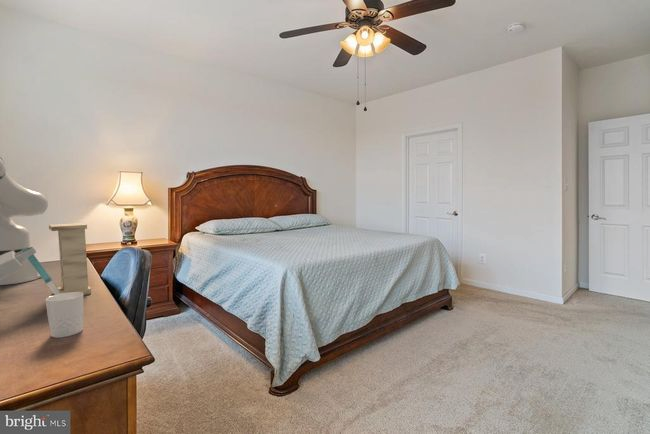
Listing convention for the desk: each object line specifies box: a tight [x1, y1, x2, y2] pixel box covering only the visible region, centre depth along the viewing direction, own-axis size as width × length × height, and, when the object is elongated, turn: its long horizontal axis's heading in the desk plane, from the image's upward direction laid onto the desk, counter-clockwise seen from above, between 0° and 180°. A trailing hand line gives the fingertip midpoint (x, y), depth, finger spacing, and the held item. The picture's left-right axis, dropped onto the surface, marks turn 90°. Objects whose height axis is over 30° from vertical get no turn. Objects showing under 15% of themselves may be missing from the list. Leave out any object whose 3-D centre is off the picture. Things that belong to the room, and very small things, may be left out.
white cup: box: [45, 292, 84, 339], centre depth 87 cm, size 8×8×10 cm
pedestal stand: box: [48, 222, 92, 296], centre depth 123 cm, size 12×10×26 cm
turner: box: [21, 247, 61, 295], centre depth 107 cm, size 20×8×2 cm
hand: (34, 249), depth 105 cm, fingers closed on turner, 2 cm apart
